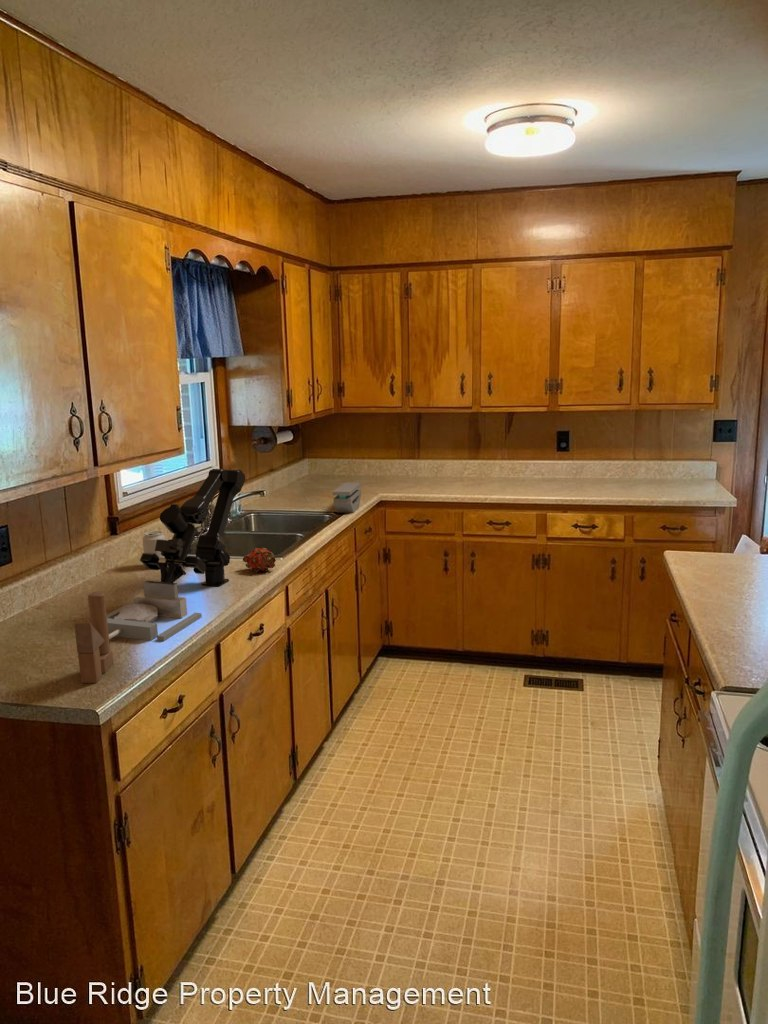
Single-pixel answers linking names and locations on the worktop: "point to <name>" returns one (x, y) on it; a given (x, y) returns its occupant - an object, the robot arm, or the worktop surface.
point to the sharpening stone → (347, 497)
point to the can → (152, 542)
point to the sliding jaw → (163, 599)
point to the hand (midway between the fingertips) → (162, 589)
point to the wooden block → (94, 641)
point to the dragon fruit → (260, 560)
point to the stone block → (138, 613)
